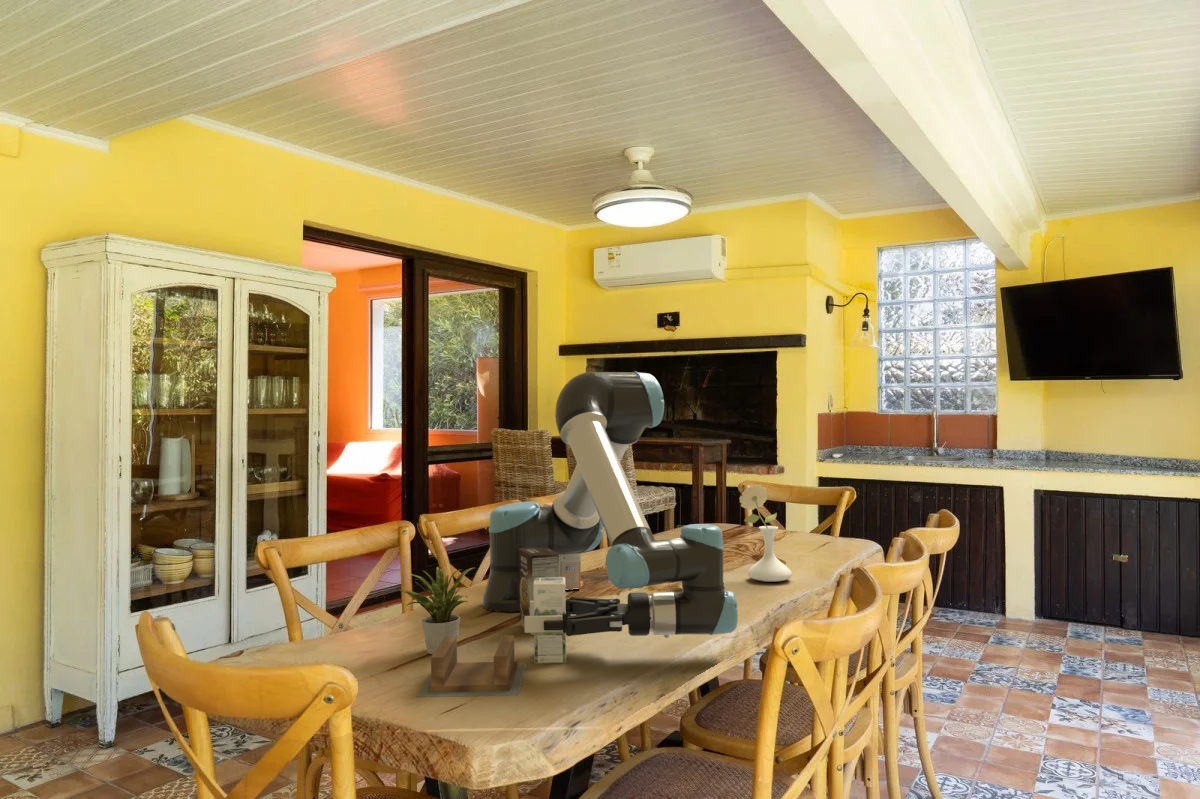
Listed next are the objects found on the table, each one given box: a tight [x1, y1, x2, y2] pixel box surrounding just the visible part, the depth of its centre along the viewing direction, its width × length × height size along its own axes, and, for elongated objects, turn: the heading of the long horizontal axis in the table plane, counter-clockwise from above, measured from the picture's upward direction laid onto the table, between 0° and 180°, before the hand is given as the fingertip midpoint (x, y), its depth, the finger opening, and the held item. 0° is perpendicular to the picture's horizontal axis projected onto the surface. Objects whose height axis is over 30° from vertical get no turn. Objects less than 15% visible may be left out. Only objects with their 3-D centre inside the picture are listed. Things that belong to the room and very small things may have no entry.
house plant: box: [399, 566, 477, 655], centre depth 154 cm, size 14×14×16 cm
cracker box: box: [543, 502, 582, 589], centre depth 209 cm, size 14×6×21 cm, turn 21°
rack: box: [428, 635, 518, 692], centre depth 135 cm, size 13×12×6 cm
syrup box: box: [533, 577, 567, 665], centre depth 146 cm, size 6×6×14 cm
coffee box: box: [519, 547, 560, 636], centre depth 168 cm, size 9×6×16 cm
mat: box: [415, 663, 528, 698], centre depth 135 cm, size 16×16×1 cm
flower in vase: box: [739, 483, 793, 583], centre depth 211 cm, size 13×11×25 cm
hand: (527, 616), depth 146 cm, fingers open, 11 cm apart
